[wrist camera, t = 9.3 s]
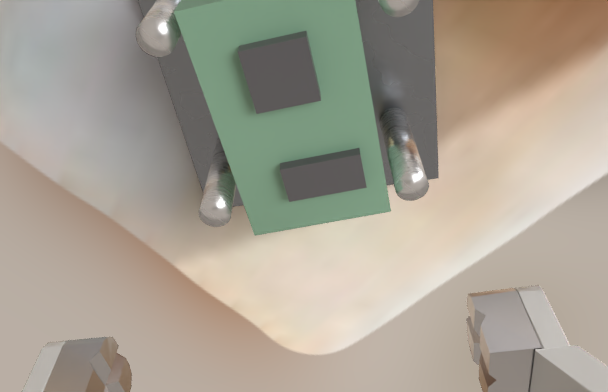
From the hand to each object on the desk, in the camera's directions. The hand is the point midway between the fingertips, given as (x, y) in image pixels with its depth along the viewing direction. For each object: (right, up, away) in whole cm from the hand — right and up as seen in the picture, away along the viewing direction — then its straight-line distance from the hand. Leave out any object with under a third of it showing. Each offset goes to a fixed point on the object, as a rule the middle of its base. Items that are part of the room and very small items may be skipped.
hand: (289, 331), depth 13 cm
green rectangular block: (0, +8, +12) cm, 14 cm away
